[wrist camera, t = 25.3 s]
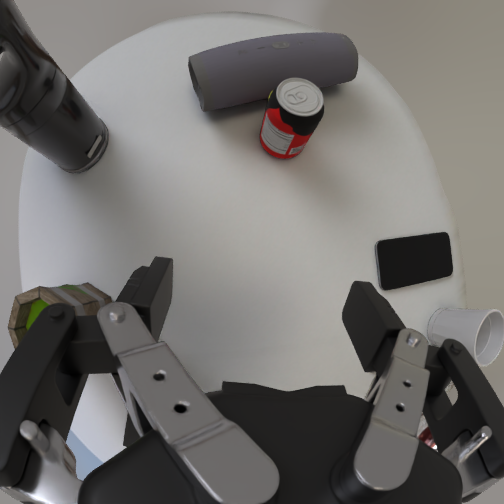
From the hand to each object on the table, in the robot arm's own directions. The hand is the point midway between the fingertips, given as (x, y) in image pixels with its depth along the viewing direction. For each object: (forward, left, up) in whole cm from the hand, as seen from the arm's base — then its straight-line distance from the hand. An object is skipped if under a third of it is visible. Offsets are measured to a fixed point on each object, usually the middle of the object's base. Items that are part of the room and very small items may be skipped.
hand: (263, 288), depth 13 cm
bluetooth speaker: (-4, +29, -25) cm, 38 cm away
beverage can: (0, +20, -25) cm, 32 cm away
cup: (+34, +1, -25) cm, 43 cm away
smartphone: (+25, +10, -25) cm, 37 cm away
